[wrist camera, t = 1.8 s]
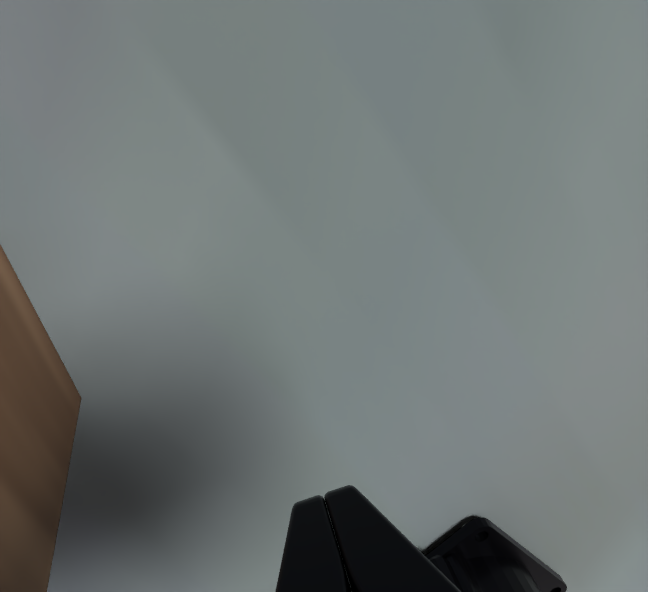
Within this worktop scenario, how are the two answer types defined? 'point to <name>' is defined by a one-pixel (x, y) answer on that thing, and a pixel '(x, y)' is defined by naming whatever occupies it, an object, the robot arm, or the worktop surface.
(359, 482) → the worktop surface
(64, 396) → the brown rectangular block
